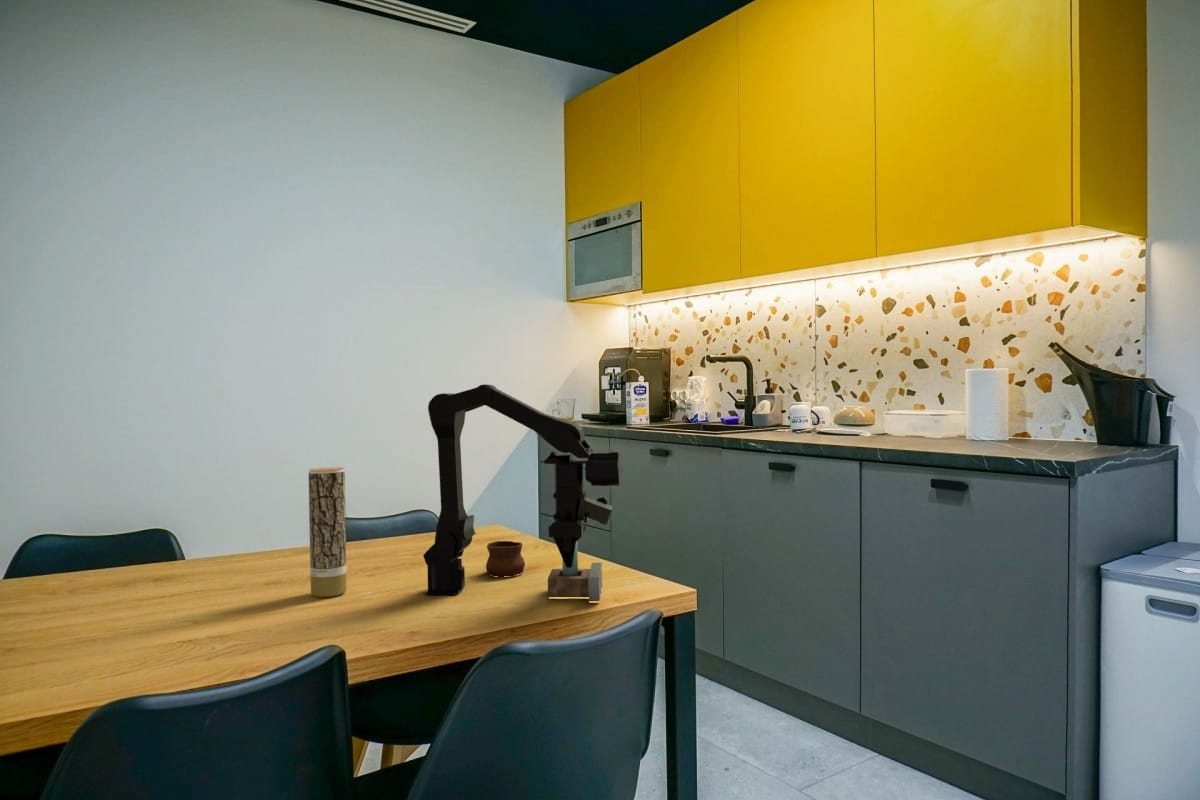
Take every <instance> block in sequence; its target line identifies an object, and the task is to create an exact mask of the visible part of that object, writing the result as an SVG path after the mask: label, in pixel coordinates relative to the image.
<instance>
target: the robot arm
mask: <svg viewBox="0 0 1200 800" xmlns="http://www.w3.org/2000/svg"><path fill="white" fill-rule="evenodd" d="M484 406H486V407H488V408H489V409H492V410H494V411H496V412H497V413H499V414H501V415H504V416H505V417H507V418H508V419H511V420H513V421H515V422H517V423H519V424H520V425H523V426H524V427H526V428H528V429H530V430H532V431H533V432H535V433H536V434H537V435H539V437H541V438H542V439H543V440H544V441H545V442H546V443H548V444H549V445H550V446H552V447H553V448H554V449H555V450H557V451H558V452H560V453H563V454H558V453H557V452H556V451H555V450H553V451H551V452H550V454H549V456H547V457H546V458H545V459H544V460H543V463H544V464H545V465H549V464H552V465H553V468H554V469H553V470H554V472H553V476H554V477H553V479H554V483H553V485H554V492H553V494H552V497H553V498H552V499H554V513H553V521H552V522H551V523H550V525H549V526H548V538H553V540H554V541H553V542H554V543H555V545H556V547H557V549H558V551H559V553H560V555H561V558H563V559H562V562H563V561H564V563H565V565H566V567H567V568H571V567H572V564H573V558H574V552H575V546H576V542H577V541H579V540H580V539H581V538H582V537H583V535H584V531H585V530H586V527H587V526H586V525H584V524H587V523H588V521H589V519H591V520H593V521H595V522H599V523H600V524H602V525H604V526H606V525H608V523H609V520H610V518H611V516H612V515H611V514H612V512H613V509H614V508H613V506H612V505H610V504H608V498H607V497H605V496H603V495H602V496H601V495H599V497H598V498H596V499H594V498H588V497H587V492H586V491H585V489H584V476H585V481H586V482H588V483H590V485H591V487H622V486H621V485H622V466H621V458H620V452H619V451H617V450H616V451H615V450H614V451H613V450H612V451H610V452H609V451H608V452H607V451H606V452H605V451H604V452H597V451H596V452H595V451H594V450H593V448H592V447H591V445H589V443H588V441H586V438H585V432H584V429H583V427H582V426H581V425H580V424H578V423H576V422H573V421H571V420H567V419H565V418H561V417H556V416H552V415H550V414H546V413H544V412H543V411H540V410H538V409H536V408H534V407H533V406H530V405H528V404H527V403H525V402H523V401H521V400H520V399H517V398H516V397H513V396H512V395H511V394H510V395H509V394H507V393H506V392H504V391H502V390H500V389H498V388H497V387H496V386H494V385H493V384H487V383H486V384H480V385H478V386H477V387H473V388H470V389H467V390H464V391H460V392H456V393H451V392H450V393H438V394H436V395H434V396H433V397H432V398H431V399H430V400H429V402H428V405H427V411H428V416H429V420H430V424H431V427H432V430H433V431H434V434H435V437H436V439H437V453H438V470H439V471H438V473H439V474H438V475H439V476H438V477H439V488H440V489H439V492H440V513H439V516H438V520H437V523H436V527H435V528H436V529H435V537H434V543H433V544H432V545H431V546H430V548H428V549H427V550H426V552H425V553H423V554H422V556H423V559H424V561H425V564H426V566H427V589H426V591H424V593H425V595H427V596H429V595H430V596H431V595H433V596H435V595H438V596H440V595H443V596H444V595H446V596H448V595H450V596H451V595H452V596H453V595H454V596H455V595H459V593H460V592H461V591H462V590H463V589H464V587H465V586H466V582H465V581H466V580H465V579H466V578H465V576H466V575H465V571H466V570H465V566H464V565H463V561H462V558H460V557H462V556H463V554H464V551H465V550H466V549H467V548H468V547H469V546H470V545H471V543H472V541H473V536H475V535H476V531H475V527H474V522H475V514H469V515H468V514H467V511H466V509H465V506H464V493H463V492H464V489H463V471H462V449H461V435H462V433H463V428H464V425H465V420H466V419H465V418H466V414H467V412H470V411H473V410H476V409H479V408H481V407H484ZM568 453H569V454H568ZM574 457H576V458H577V459H575V458H574ZM584 466H585V467H584ZM584 468H585V469H584ZM584 470H585V471H584ZM584 473H585V475H584ZM583 522H584V523H583Z"/></svg>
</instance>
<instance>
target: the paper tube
mask: <svg viewBox="0 0 1200 800" xmlns="http://www.w3.org/2000/svg"><path fill="white" fill-rule="evenodd" d="M345 476H346V473H345V467H316V468H310V469H308V507H309V508H308V510H309V511H308V512H309V514H308V518H309V520H308V521H309V560H310V561H309V565H310V568H309V570H310V571H309V573H310V575H309V576H310V594H311V595H312V596H313V597H315V598H332V597H338V596H341V595H343V594H345V593H346V591H347V586H348V585H347V583H348V582H347V535H346V534H347V531H346V529H347V527H346V523H347V522H346V519H347V518H346V477H345Z"/></svg>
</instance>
